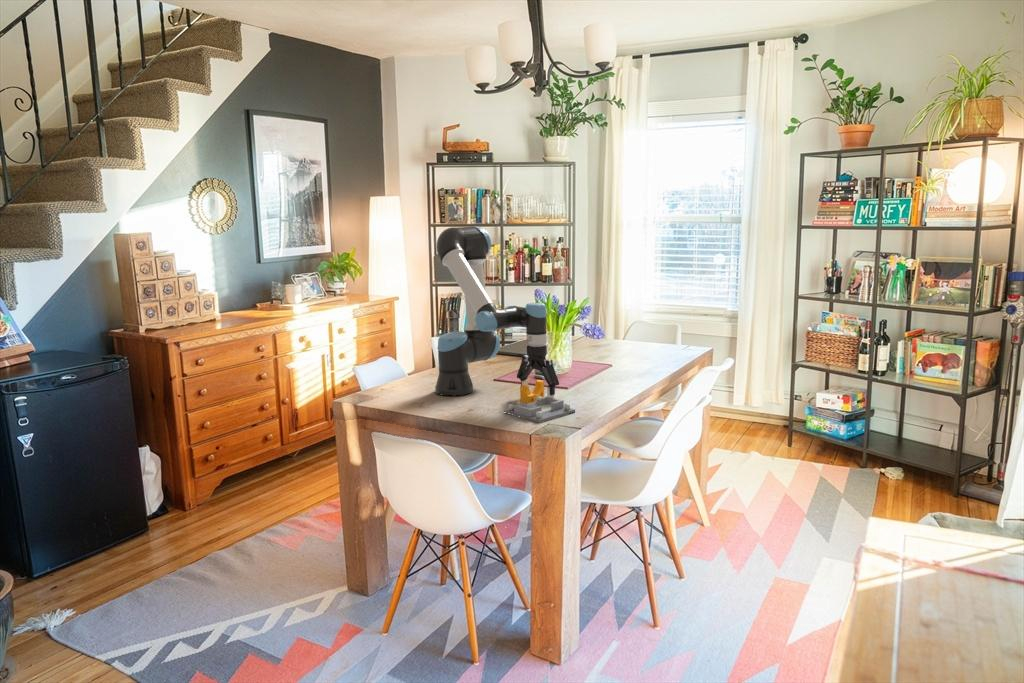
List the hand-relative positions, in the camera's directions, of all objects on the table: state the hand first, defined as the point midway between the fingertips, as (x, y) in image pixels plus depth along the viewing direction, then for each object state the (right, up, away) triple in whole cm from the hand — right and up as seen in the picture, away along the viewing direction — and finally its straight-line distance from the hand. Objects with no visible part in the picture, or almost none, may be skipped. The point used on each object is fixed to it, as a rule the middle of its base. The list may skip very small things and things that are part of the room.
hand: (537, 400), depth 273 cm
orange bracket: (-1, 0, +1) cm, 2 cm away
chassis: (0, -3, -16) cm, 16 cm away
